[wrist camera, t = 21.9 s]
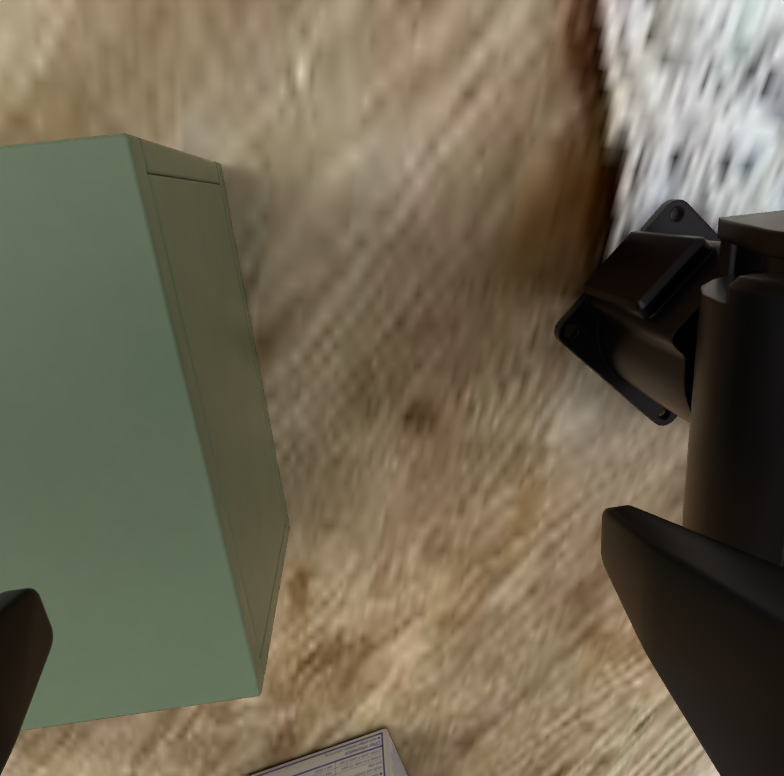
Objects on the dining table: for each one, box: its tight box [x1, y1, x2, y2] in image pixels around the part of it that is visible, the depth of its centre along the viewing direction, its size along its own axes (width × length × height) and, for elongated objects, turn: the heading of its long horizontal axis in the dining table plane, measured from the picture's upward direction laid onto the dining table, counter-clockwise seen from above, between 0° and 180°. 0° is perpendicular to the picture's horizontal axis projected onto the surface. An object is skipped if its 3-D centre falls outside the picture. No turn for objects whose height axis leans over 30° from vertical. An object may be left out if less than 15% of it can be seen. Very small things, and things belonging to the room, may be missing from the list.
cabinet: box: [0, 133, 290, 731], centre depth 17 cm, size 14×14×8 cm
